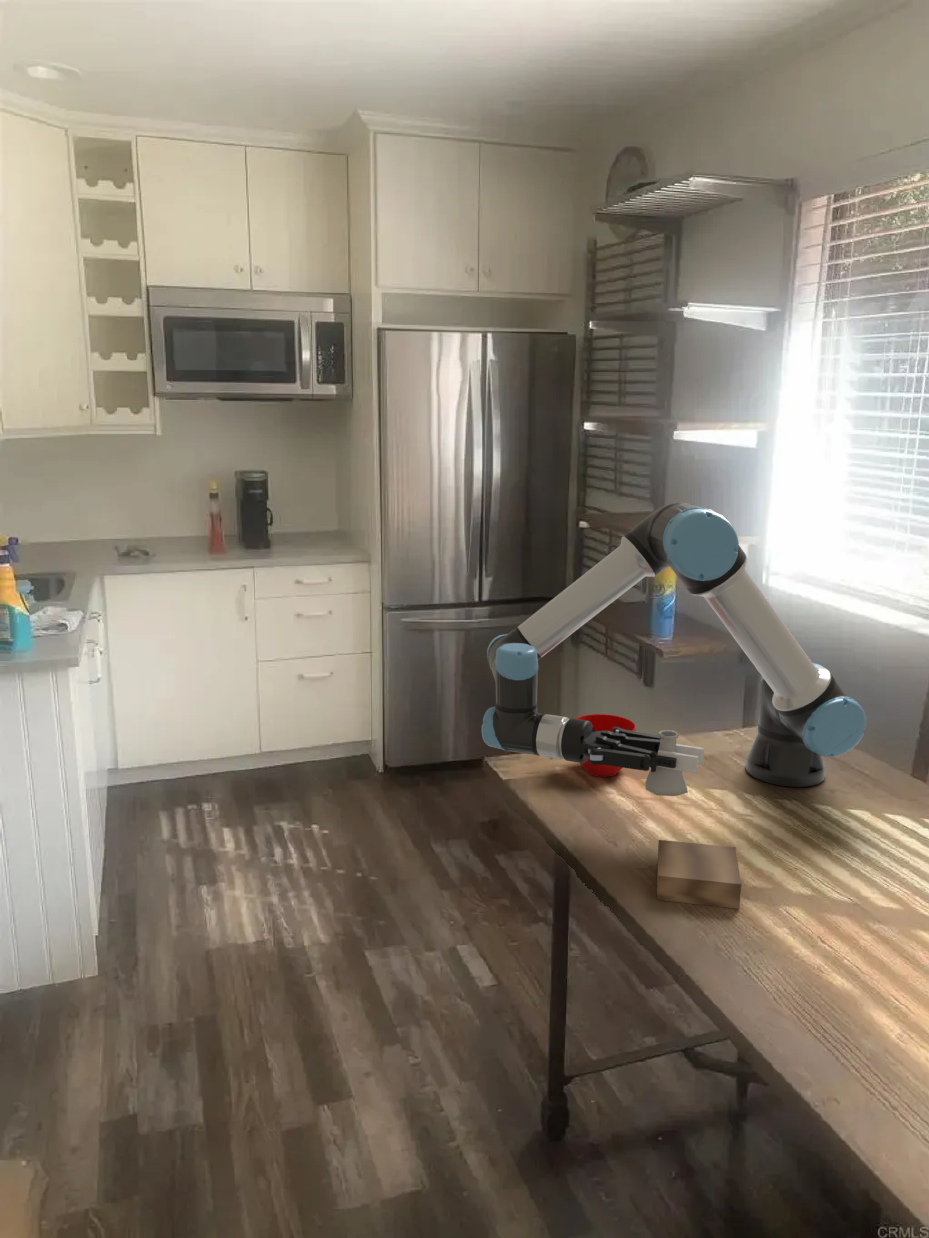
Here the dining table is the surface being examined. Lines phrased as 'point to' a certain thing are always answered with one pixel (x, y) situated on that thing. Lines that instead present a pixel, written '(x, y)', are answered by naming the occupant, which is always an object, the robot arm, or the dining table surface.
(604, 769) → the ceramic cup
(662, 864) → the plinth
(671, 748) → the flask
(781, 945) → the dining table surface
